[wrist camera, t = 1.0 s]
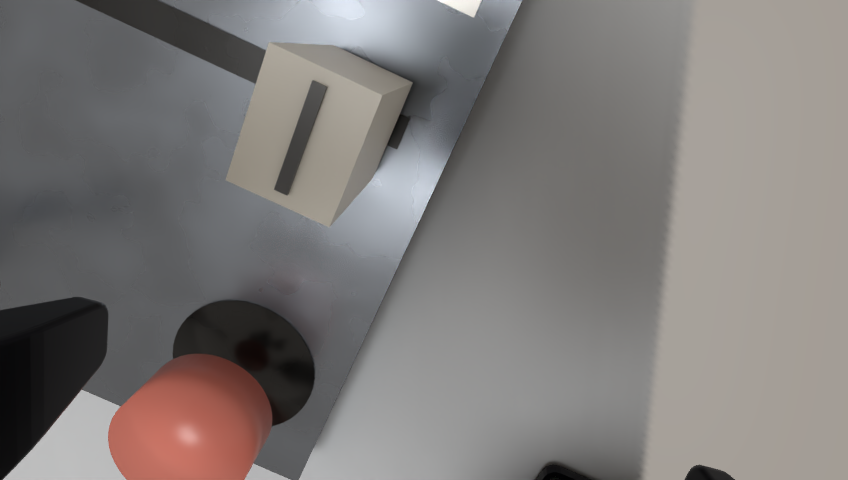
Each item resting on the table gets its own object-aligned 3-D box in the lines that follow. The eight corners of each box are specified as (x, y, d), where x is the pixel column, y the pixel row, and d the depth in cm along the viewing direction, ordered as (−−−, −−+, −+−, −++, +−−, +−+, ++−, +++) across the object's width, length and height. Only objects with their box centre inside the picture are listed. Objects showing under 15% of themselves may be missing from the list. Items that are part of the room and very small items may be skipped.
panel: (539, -41, 16) (556, -70, 12) (312, 446, 23) (279, 525, 19) (-38, -322, 15) (-211, -446, 11) (-94, 270, 22) (-213, 315, 18)
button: (289, 386, 16) (264, 430, 14) (250, 479, 18) (222, 529, 16) (166, 333, 16) (125, 370, 14) (137, 430, 18) (95, 475, 16)
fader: (412, 82, 15) (381, 95, 10) (372, 178, 16) (328, 228, 11) (333, 45, 15) (267, 42, 10) (298, 144, 16) (223, 181, 11)
